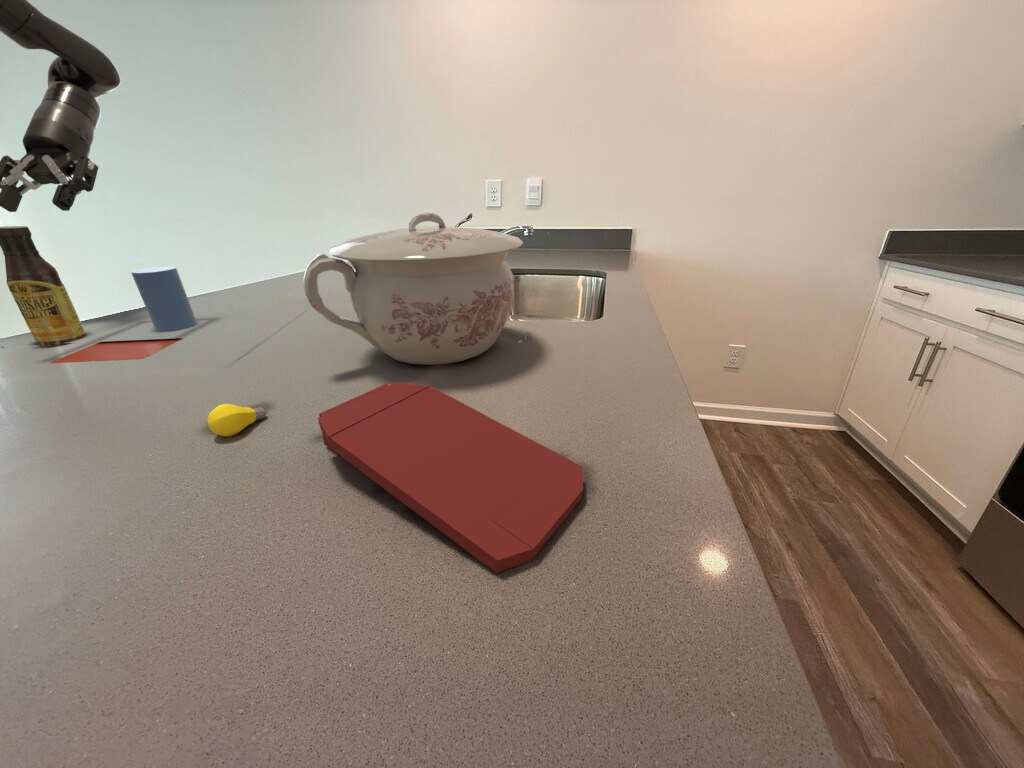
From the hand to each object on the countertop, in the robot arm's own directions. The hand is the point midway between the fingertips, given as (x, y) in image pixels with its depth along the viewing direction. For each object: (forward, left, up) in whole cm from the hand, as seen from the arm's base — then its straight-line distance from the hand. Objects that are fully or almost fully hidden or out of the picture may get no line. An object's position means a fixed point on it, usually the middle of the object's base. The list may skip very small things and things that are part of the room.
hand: (33, 207), depth 68 cm
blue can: (+16, -1, -22) cm, 27 cm away
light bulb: (+47, -39, -23) cm, 65 cm away
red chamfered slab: (+70, -49, -23) cm, 88 cm away
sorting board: (+14, -7, -22) cm, 27 cm away
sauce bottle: (0, -6, -23) cm, 23 cm away
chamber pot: (+67, -17, -23) cm, 73 cm away
